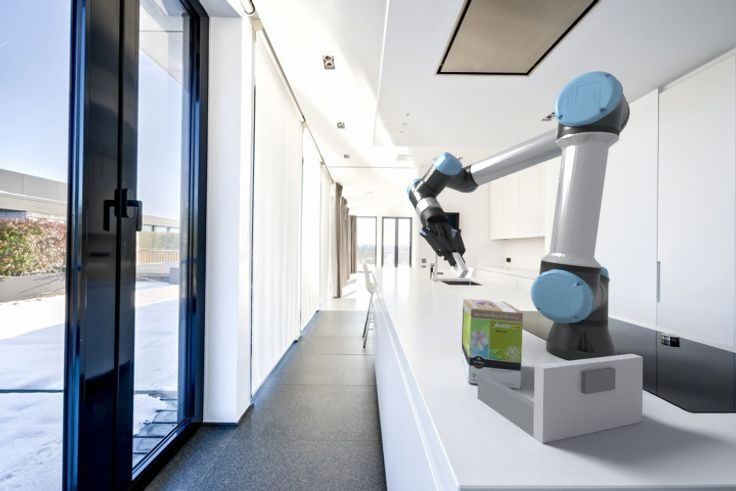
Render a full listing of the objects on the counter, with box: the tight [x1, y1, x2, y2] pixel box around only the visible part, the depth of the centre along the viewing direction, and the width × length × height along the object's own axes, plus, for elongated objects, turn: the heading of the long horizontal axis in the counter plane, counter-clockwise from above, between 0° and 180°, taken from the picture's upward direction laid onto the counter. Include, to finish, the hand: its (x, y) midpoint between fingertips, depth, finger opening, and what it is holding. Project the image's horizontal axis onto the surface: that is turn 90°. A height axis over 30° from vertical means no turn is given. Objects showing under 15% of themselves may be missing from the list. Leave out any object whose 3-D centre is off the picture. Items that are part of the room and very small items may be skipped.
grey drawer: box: [477, 353, 644, 444], centre depth 52 cm, size 20×14×10 cm
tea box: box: [460, 298, 524, 389], centre depth 67 cm, size 15×10×15 cm, turn 168°
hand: (463, 274), depth 80 cm, fingers closed
